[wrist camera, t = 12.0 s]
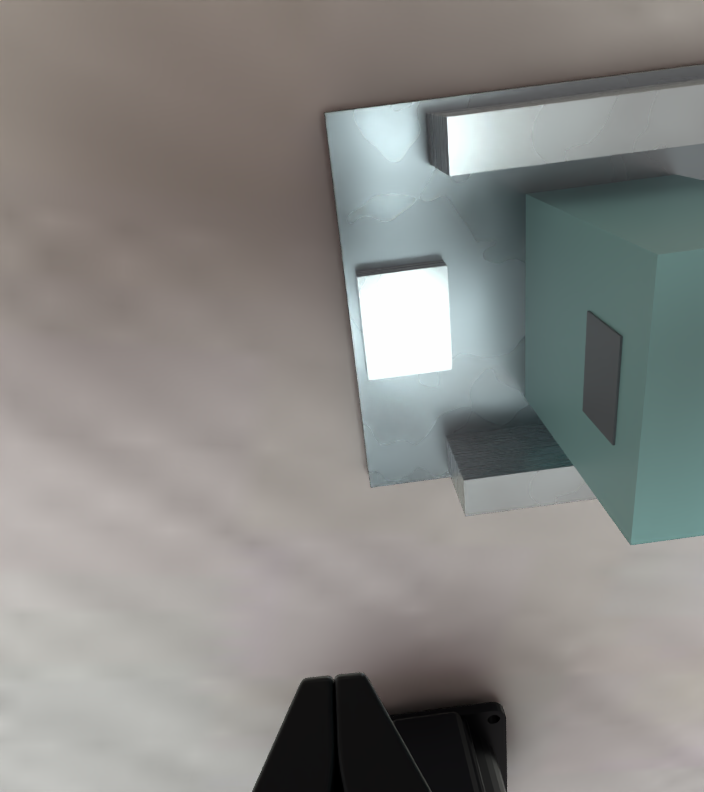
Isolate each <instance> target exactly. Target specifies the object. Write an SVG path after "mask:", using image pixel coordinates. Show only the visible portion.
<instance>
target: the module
mask: <svg viewBox="0 0 704 792" xmlns="http://www.w3.org/2000/svg"><path fill="white" fill-rule="evenodd" d="M525 398H526V400H527V401H528V403H529V404H530V405H531V407H532V408H533V410H534V411H535V412H536V414H537V415H538V417H539V418H540V419H541V421H542V422H543V424H544V425H545V426H546V428H547V429H548V431H549V432H550V433H551V435H552V436H553V438H554V439H555V440H556V442H557V443H558V445H559V446H560V447H561V449H562V450H563V451H564V453H565V454H566V456H567V457H568V458H569V460H570V461H571V463H572V464H573V465H574V467H575V468H576V470H577V471H578V472H579V474H580V475H581V477H582V478H583V479H584V481H585V482H586V484H587V485H588V486H589V488H590V489H591V491H592V492H593V493H594V495H595V496H596V498H597V499H598V500H599V502H600V503H601V505H602V506H603V507H604V509H605V510H606V511H607V513H608V514H609V516H610V517H611V518H612V520H613V521H614V523H615V524H616V525H617V527H618V528H619V530H620V531H621V532H622V534H623V535H624V537H625V538H626V539H627V541H628V542H629V544H630V545H636V544H643V543H651V542H658V541H665V540H673V539H680V538H688V537H695V536H703V535H704V181H703V180H699V179H694V178H690V177H685V176H681V175H668V176H660V177H652V178H645V179H637V180H629V181H622V182H614V183H606V184H598V185H591V186H583V187H575V188H567V189H560V190H552V191H544V192H537V193H529V194H526V277H525Z"/></svg>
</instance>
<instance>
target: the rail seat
mask: <svg viewBox="0 0 704 792" xmlns="http://www.w3.org/2000/svg"><path fill="white" fill-rule="evenodd" d="M324 115H325V123H326V131H327V139H328V147H329V155H330V164H331V172H332V180H333V188H334V196H335V204H336V213H337V221H338V229H339V237H340V245H341V253H342V262H343V270H344V278H345V286H346V294H347V302H348V311H349V319H350V327H351V335H352V343H353V351H354V359H355V368H356V376H357V384H358V392H359V400H360V408H361V417H362V425H363V433H364V441H365V449H366V457H367V466H368V474H369V480H370V486H371V487H378V486H385V485H393V484H400V483H408V482H415V481H423V480H430V479H438V478H445V477H451V479H452V482H453V484H454V487H455V490H456V492H457V495H458V498H459V500H460V503H461V506H462V508H463V511H464V514H465V516H470V515H478V514H485V513H493V512H500V511H508V510H515V509H523V508H530V507H538V506H545V505H553V504H560V503H568V502H575V501H583V500H590V499H597V498H596V496H595V495H594V493H593V492H592V491H591V489H590V488H589V486H588V485H587V484H586V482H585V481H584V479H583V478H582V477H581V475H580V474H579V472H578V471H577V470H576V468H575V467H574V465H573V464H572V463H571V461H570V460H569V458H568V457H567V456H566V454H565V453H564V451H563V450H562V449H561V447H560V446H559V445H558V443H557V442H556V440H555V439H554V438H553V436H552V435H551V433H550V432H549V431H548V429H547V428H546V426H545V425H544V424H543V422H542V421H541V419H540V418H539V417H538V415H537V414H536V412H535V411H534V410H533V408H532V407H531V405H530V404H529V403H528V401H527V400H526V398H525V277H526V194H529V193H537V192H544V191H552V190H560V189H567V188H575V187H583V186H591V185H598V184H606V183H614V182H622V181H629V180H637V179H645V178H652V177H660V176H668V175H681V176H685V177H690V178H694V179H699V180H703V181H704V64H699V65H691V66H683V67H675V68H668V69H660V70H652V71H644V72H636V73H628V74H621V75H613V76H605V77H597V78H589V79H582V80H574V81H566V82H558V83H550V84H543V85H535V86H527V87H519V88H511V89H504V90H496V91H488V92H480V93H472V94H465V95H457V96H449V97H441V98H433V99H425V100H418V101H410V102H402V103H394V104H386V105H379V106H371V107H363V108H355V109H347V110H340V111H332V112H324Z"/></svg>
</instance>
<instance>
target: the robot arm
mask: <svg viewBox="0 0 704 792" xmlns="http://www.w3.org/2000/svg"><path fill="white" fill-rule="evenodd" d="M252 792H507V756H506V716H505V713H504V710H503V707H502V705H501V704H499V703H496V702H489V703H481V704H474V705H467V706H459V707H452V708H445V709H437V710H430V711H423V712H415V713H408V714H401V715H393V716H389V715H388V713H387V711H386V709H385V708H384V706H383V704H382V702H381V701H380V699H379V697H378V695H377V693H376V692H375V690H374V688H373V686H372V684H371V683H370V681H369V679H368V677H367V676H366V675H365V674H364V673H360V672H359V673H349V674H339V675H337V676H336V677H335V679H333V678H332V677H330V676H319V677H309V678H305V679H303V680H302V682H301V683H300V685H299V687H298V689H297V692H296V694H295V696H294V698H293V701H292V703H291V705H290V707H289V710H288V712H287V714H286V716H285V719H284V721H283V723H282V725H281V728H280V730H279V732H278V734H277V737H276V739H275V741H274V743H273V746H272V748H271V750H270V752H269V755H268V757H267V759H266V761H265V764H264V766H263V768H262V770H261V773H260V775H259V777H258V779H257V781H256V784H255V786H254V788H253V790H252Z"/></svg>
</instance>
